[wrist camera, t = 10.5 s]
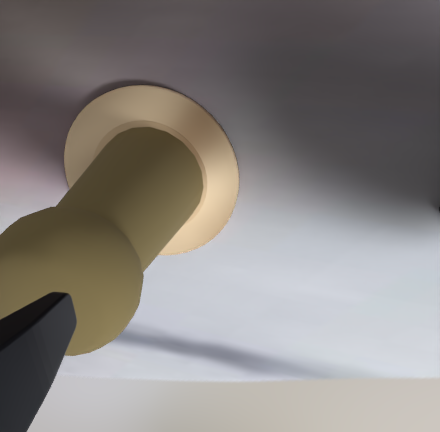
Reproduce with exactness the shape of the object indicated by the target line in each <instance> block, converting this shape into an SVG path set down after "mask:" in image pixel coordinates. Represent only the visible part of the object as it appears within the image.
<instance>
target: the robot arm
mask: <svg viewBox="0 0 440 432" xmlns="http://www.w3.org/2000/svg"><path fill="white" fill-rule="evenodd" d="M439 211H440V208H439ZM76 325H77V317H76V313H75V309H74V305H73V301H72V297H71V295H70V294H69V293H65V292H51V293H49V294H47V295H45V296H43V297H41V298H39V299H37V300H36V301H34V302H32V303H30V304H28V305H26V306H24V307H23V308H21V309H19V310H17V311H15V312H13V313H11V314H10V315H8V316H6V317H4V318H2V319H0V432H27V430H28V428H29V426H30V424H31V423H32V421H33V419H34V417H35V415H36V414H37V412H38V410H39V408H40V406H41V404H42V403H43V401H44V399H45V397H46V395H47V393H48V391H49V389H50V387H51V385H52V383H53V381H54V379H55V376H56V374H57V372H58V369H59V367H60V365H61V362H62V360H63V357H64V355H65V353H66V350H67V348H68V346H69V343H70V341H71V338H72V336H73V334H74V331H75V329H76Z"/></svg>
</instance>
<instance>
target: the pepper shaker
mask: <svg viewBox="0 0 440 432" xmlns="http://www.w3.org/2000/svg"><path fill="white" fill-rule="evenodd" d="M203 188H204V187H203V178H202V171H201V169H200V166H199V164H198V162H197V160H196V157H195V155H194V154H193V153H192V152H191V151H190V150H189V148H188V147H187V146H186V145H185V144H184V143H183V142H182V141H181V140H179V139H178V138H176V137H174V136H173V135H171V134H170V133H168V132H166V131H162V130H159V129H155V128H152V127H137V128H130V129H128V130H126V131H123V132H121V133H118V134H117V135H116V136H115V137H114V138H113V139H112V140H110V141H109V142H108V143H107V144H106V145H105V147H104V148H103V149H102V150H101V152H100V153H99V154H98V155H97V157H96V158H95V159H94V160H93V161H92V163H91V164H90V165H89V166H88V168H87V169H86V170H85V171H84V173H83V174H82V175H81V176H80V177H79V179H78V180H77V181H76V182H75V184H74V185H73V186H72V187H71V189H70V190H69V191H68V192H67V193H66V195H65V196H64V197H63V198H62V200H61V201H60V202H59V203H58V205H57V206H56V207H50V208H47V209H44V210H41V211H38V212H35V213H32V214H30V215H27V216H24V217H21V218H20V219H18V220H17V221H16V222H14V223H13V224H12V225H10V226H9V227H8V228H7V229H6V230H5V231H4V232H3V233H2V234H1V235H0V319H2V318H4V317H6V316H8V315H10V314H11V313H13V312H15V311H17V310H19V309H21V308H23V307H24V306H26V305H28V304H30V303H32V302H34V301H36V300H37V299H39V298H41V297H43V296H45V295H47V294H49V293H51V292H65V293H69V294H70V295H71V297H72V301H73V305H74V309H75V313H76V317H77V325H76V329H75V331H74V334H73V336H72V338H71V341H70V343H69V346H68V348H67V350H66V353H65V355H67V356H76V355H80V354H85V353H90V352H92V351H94V350H97V349H99V348H101V347H103V346H104V345H106V344H108V343H109V342H111V341H112V340H114V339H115V338H116V337H117V336H118V335H119V334H120V333H121V332H122V331H123V330H124V329H125V328H126V326H127V325H128V323H129V322H130V320H131V319H132V317H133V316H134V314H135V312H136V310H137V308H138V306H139V302H140V296H141V290H142V284H143V277H144V276H143V272H144V271H145V269H146V268H147V267H148V266H149V265H150V264H151V262H152V261H153V260H154V259H155V258H156V256H157V255H158V254H159V253H160V252H161V251H162V249H163V248H164V247H165V246H166V245H167V244H168V242H169V241H170V240H171V239H172V238H173V236H174V235H175V234H176V233H177V232H178V231H179V229H180V228H181V227H182V226H183V225H184V224H185V222H186V221H187V220H188V219H189V218H190V216H191V215H192V214H193V212H194V211H195V209H196V208H197V206H198V205H199V203H200V201H201V196H202V192H203Z"/></svg>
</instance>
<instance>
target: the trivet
mask: <svg viewBox="0 0 440 432" xmlns="http://www.w3.org/2000/svg"><path fill="white" fill-rule="evenodd" d="M137 127H152V128H155V129H159V130H162V131H166V132H168V133H170V134H171V135H173V136H174V137H176V138H178V139H179V140H181V141H182V142H183V143H184V144H185V145H186V146H187V147H188V148H189V150H190V151H191V152H192V153H193V154H194V155H195V157H196V160H197V162H198V164H199V166H200V169H201V171H202V178H203V187H204V188H203V192H202V196H201V201H200V203H199V205H198V206H197V208H196V209H195V211H194V212H193V214H192V215H191V216H190V218H189V219H188V220H187V221H186V222H185V224H184V225H183V226H182V227H181V228H180V229H179V231H178V232H177V233H176V234H175V235H174V236H173V238H172V239H171V240H170V241H169V242H168V244H167V245H166V246H165V247H164V248H163V249H162V251H161V252H160V253H159V254H158V255H175V254H181V253H185V252H189V251H191V250H194V249H197V248H199V247H201V246H203V245H204V244H206V243H207V242H209V241H210V240H212V239H213V238H214V237H215V236H216V235H217V234H218V233H219V232H220V231H221V230H222V229H223V227H224V226H225V225H226V223H227V222H228V220H229V218H230V217H231V214H232V212H233V209H234V207H235V204H236V200H237V195H238V190H239V169H238V164H237V158H236V155H235V152H234V149H233V147H232V145H231V143H230V141H229V138H228V136H227V135H226V133H225V132H224V130H223V129H222V127H221V126H220V124H219V123H218V122H217V121H216V120H215V119H214V117H213V116H212V115H211V114H210V113H209V112H207V111H206V110H205V109H204V108H203V107H202V106H200V105H199V104H198V103H196V102H195V101H193V100H192V99H190V98H188V97H186V96H184V95H182V94H181V93H178V92H175V91H173V90H170V89H167V88H163V87H158V86H151V85H131V86H126V87H121V88H118V89H115V90H112V91H110V92H107V93H105V94H103V95H101V96H99V97H98V98H96V99H94V100H93V101H92V102H91V103H89V104H88V105H87V106H86V107H85V108H84V109H83V110H82V111H81V112H80V113H79V114H78V116H77V117H76V119H75V121H74V122H73V124H72V126H71V128H70V130H69V133H68V136H67V140H66V143H65V151H64V166H65V173H66V178H67V182H68V185H69V188H70V189H71V187H72V186H73V185H74V184H75V182H76V181H77V180H78V179H79V177H80V176H81V175H82V174H83V173H84V171H85V170H86V169H87V168H88V166H89V165H90V164H91V163H92V161H93V160H94V159H95V158H96V157H97V155H98V154H99V153H100V152H101V150H102V149H103V148H104V147H105V145H106V144H107V143H108V142H109V141H110V140H112V139H113V138H114V137H115V136H116V135H117V134H118V133H121V132H123V131H126V130H128V129H130V128H137Z"/></svg>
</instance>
